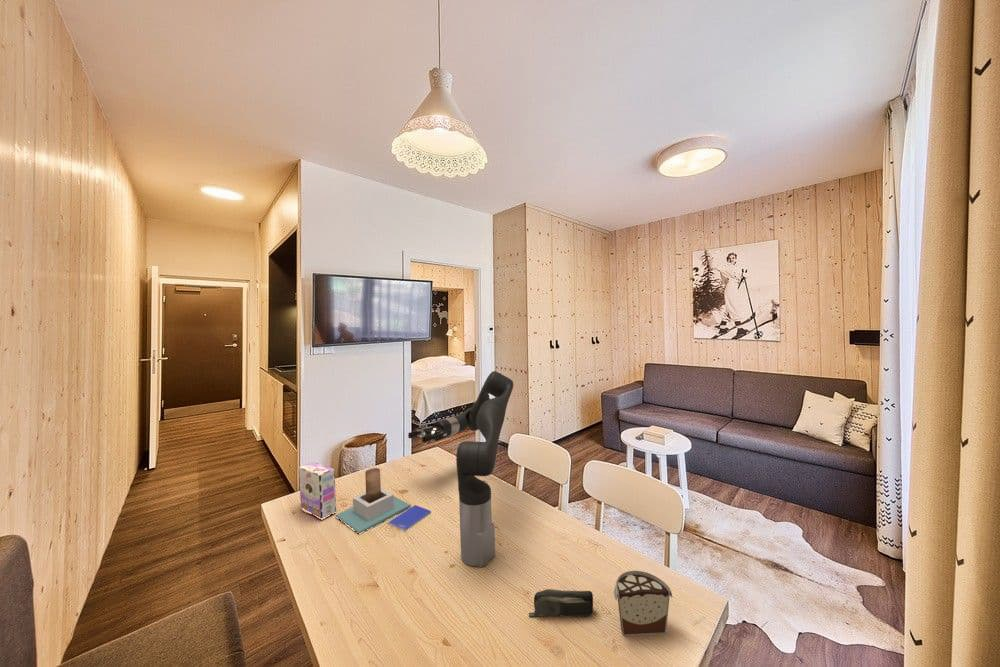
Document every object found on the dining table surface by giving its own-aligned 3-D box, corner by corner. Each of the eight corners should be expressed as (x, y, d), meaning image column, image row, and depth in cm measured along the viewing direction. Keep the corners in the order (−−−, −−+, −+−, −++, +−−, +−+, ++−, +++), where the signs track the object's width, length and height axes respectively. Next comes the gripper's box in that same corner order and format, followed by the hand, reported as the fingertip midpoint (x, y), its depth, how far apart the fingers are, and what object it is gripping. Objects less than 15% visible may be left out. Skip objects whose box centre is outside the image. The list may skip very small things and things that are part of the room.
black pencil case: (591, 587, 80) (527, 588, 80) (595, 597, 77) (529, 598, 77) (590, 607, 80) (527, 608, 80) (594, 618, 77) (529, 620, 77)
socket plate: (410, 507, 125) (410, 491, 125) (359, 534, 109) (358, 516, 109) (386, 494, 135) (385, 479, 135) (335, 517, 119) (334, 501, 119)
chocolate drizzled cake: (658, 609, 79) (658, 567, 79) (672, 633, 73) (672, 588, 73) (606, 611, 79) (605, 569, 78) (616, 636, 72) (615, 591, 72)
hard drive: (404, 529, 110) (431, 510, 121) (387, 521, 115) (414, 504, 125) (404, 533, 110) (431, 514, 121) (387, 526, 115) (414, 508, 125)
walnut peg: (384, 508, 123) (382, 470, 122) (371, 514, 119) (369, 475, 119) (376, 504, 126) (375, 466, 126) (363, 510, 122) (362, 471, 122)
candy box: (337, 513, 122) (335, 468, 122) (321, 521, 117) (319, 475, 117) (315, 503, 130) (313, 460, 129) (300, 510, 125) (297, 466, 124)
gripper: (435, 416, 149) (404, 425, 137) (457, 421, 141) (427, 431, 128) (435, 433, 150) (404, 443, 137) (458, 439, 141) (427, 451, 128)
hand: (415, 437), depth 132 cm, fingers open, 8 cm apart
